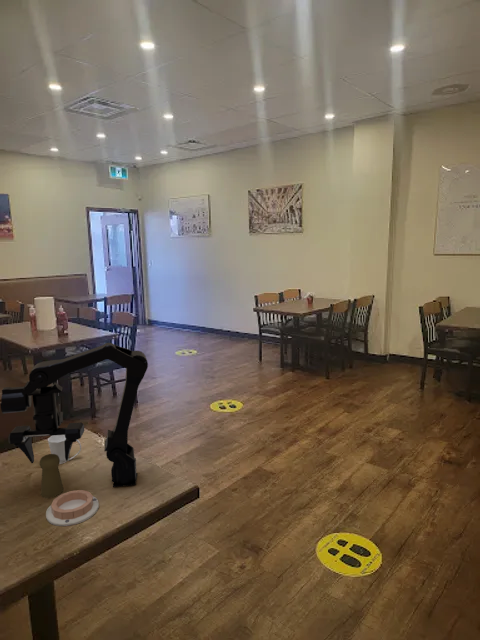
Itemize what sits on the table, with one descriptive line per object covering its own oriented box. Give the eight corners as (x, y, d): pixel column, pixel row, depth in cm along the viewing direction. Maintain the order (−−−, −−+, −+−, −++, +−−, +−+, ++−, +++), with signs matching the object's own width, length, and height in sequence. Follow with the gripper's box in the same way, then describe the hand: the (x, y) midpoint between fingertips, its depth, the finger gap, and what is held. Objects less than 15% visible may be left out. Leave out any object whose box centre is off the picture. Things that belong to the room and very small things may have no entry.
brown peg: (55, 499, 120) (52, 462, 118) (35, 496, 121) (32, 460, 119) (68, 487, 126) (65, 452, 124) (49, 485, 127) (46, 450, 125)
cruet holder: (102, 494, 122) (102, 485, 121) (93, 523, 109) (92, 513, 109) (54, 498, 120) (53, 489, 120) (39, 528, 107) (38, 518, 107)
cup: (51, 457, 144) (49, 434, 143) (82, 453, 146) (81, 430, 145) (47, 467, 137) (45, 443, 136) (81, 463, 140) (79, 439, 138)
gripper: (86, 396, 128) (90, 446, 131) (19, 400, 126) (25, 450, 129) (77, 410, 117) (82, 464, 120) (4, 414, 115) (10, 469, 118)
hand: (50, 461), depth 122 cm, fingers open, 9 cm apart
